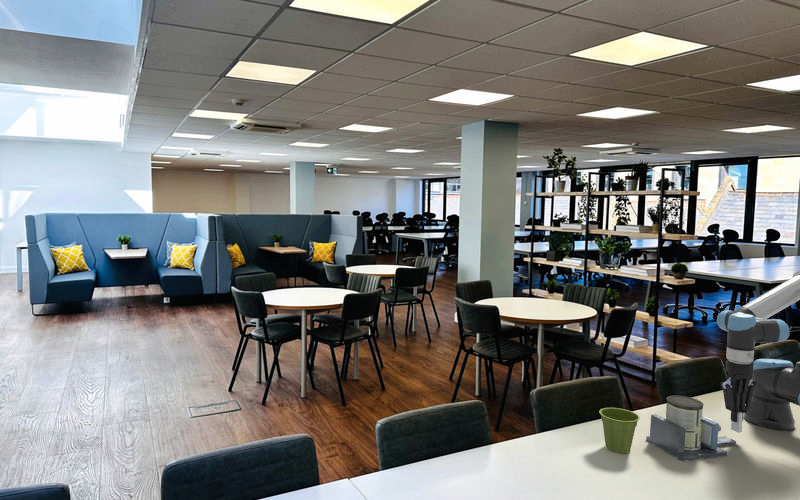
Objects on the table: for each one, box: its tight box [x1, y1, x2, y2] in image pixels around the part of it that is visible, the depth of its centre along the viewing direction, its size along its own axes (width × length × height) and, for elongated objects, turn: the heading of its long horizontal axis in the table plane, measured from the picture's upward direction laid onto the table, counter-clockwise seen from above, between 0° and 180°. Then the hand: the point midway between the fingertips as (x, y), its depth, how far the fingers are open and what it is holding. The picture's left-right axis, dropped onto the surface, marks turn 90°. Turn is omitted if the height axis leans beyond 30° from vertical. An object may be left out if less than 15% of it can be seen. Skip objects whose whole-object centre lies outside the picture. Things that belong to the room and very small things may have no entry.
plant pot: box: [598, 407, 641, 454], centre depth 161 cm, size 12×12×11 cm
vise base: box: [645, 413, 737, 462], centre depth 164 cm, size 27×15×9 cm, turn 105°
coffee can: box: [665, 394, 704, 450], centre depth 163 cm, size 10×10×14 cm
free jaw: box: [701, 415, 722, 449], centre depth 165 cm, size 9×11×8 cm
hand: (736, 430), depth 169 cm, fingers closed
